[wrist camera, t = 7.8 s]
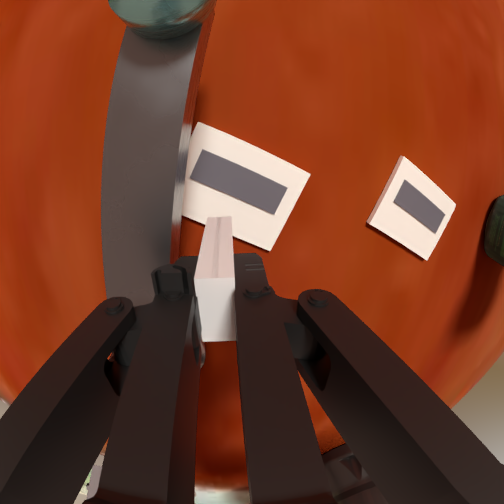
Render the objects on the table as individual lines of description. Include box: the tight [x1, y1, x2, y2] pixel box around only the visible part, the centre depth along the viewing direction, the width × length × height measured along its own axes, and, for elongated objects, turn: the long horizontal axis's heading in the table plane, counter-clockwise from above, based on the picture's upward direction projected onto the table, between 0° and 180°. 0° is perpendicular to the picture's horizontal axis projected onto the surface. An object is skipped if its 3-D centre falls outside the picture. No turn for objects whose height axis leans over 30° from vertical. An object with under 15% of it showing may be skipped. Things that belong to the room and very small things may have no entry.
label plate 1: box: [182, 122, 310, 251], centre depth 17 cm, size 8×6×1 cm
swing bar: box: [101, 0, 217, 358], centre depth 11 cm, size 22×5×6 cm, turn 171°
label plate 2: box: [367, 156, 456, 260], centre depth 19 cm, size 8×6×1 cm
